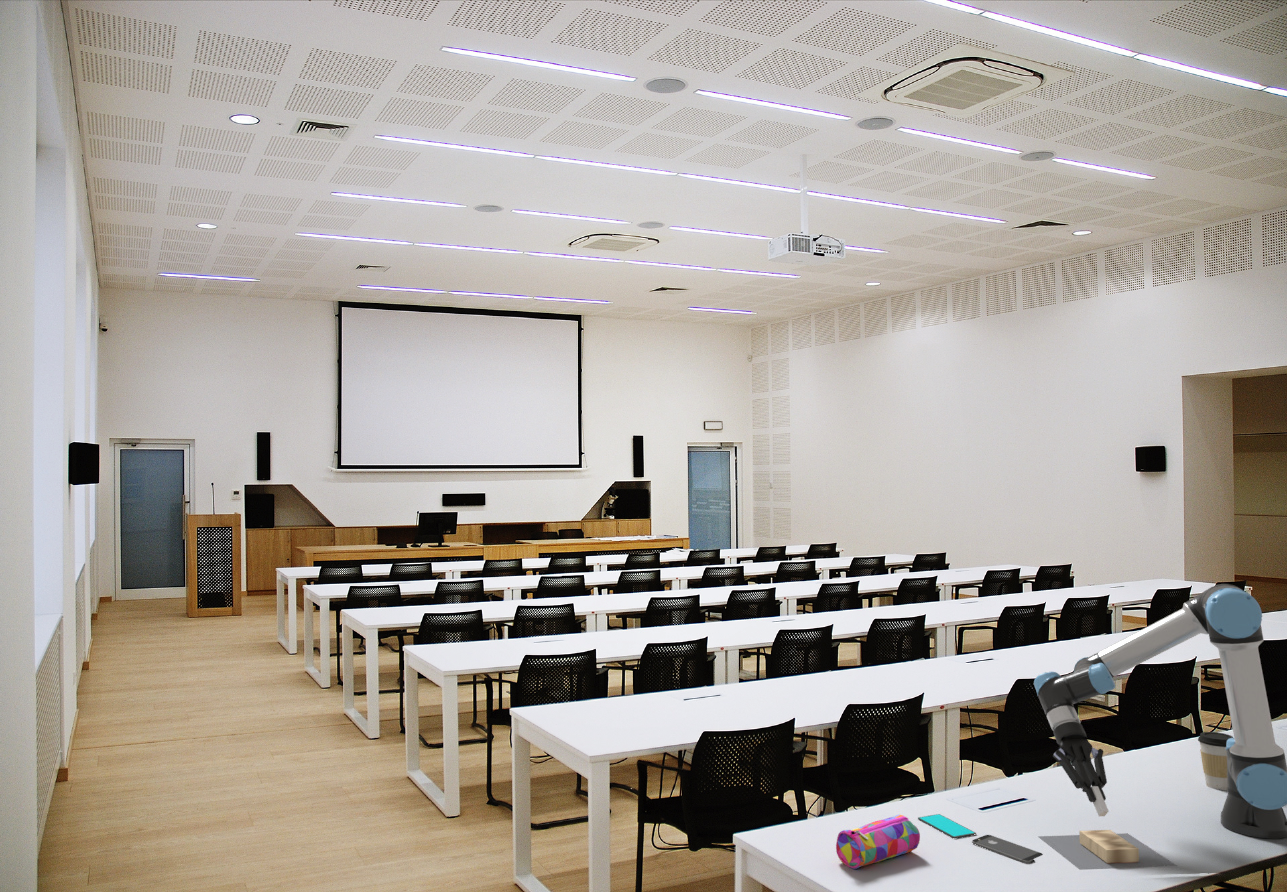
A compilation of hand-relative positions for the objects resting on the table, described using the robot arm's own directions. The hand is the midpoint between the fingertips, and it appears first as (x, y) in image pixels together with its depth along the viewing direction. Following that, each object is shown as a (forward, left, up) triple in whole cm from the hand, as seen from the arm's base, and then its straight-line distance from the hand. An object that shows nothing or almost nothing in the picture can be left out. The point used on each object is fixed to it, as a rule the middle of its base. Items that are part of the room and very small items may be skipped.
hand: (1103, 813), depth 229 cm
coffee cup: (-61, -44, -10) cm, 76 cm away
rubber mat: (0, 0, -10) cm, 10 cm away
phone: (+23, -4, -10) cm, 25 cm away
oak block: (0, -4, -7) cm, 8 cm away
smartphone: (+32, -20, -10) cm, 39 cm away
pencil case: (+57, -1, -10) cm, 58 cm away
